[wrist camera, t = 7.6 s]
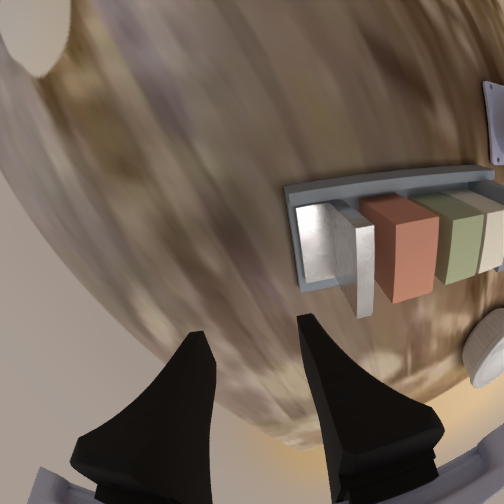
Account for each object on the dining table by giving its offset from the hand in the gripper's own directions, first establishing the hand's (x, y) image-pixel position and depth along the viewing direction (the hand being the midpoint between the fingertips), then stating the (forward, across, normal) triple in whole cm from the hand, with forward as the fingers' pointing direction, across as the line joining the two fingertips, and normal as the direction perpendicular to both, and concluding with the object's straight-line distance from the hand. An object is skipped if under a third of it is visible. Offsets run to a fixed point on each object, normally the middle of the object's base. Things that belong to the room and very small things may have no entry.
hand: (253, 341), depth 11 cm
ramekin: (+10, -29, +19) cm, 36 cm away
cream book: (+9, -17, 0) cm, 19 cm away
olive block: (+9, -14, 0) cm, 16 cm away
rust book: (+9, -10, 0) cm, 13 cm away
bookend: (+9, -5, 0) cm, 10 cm away
